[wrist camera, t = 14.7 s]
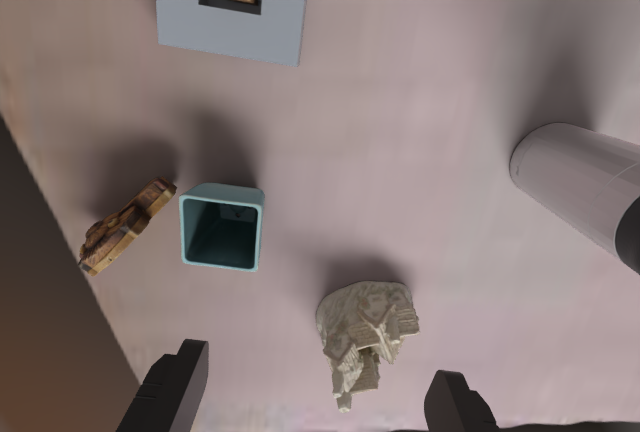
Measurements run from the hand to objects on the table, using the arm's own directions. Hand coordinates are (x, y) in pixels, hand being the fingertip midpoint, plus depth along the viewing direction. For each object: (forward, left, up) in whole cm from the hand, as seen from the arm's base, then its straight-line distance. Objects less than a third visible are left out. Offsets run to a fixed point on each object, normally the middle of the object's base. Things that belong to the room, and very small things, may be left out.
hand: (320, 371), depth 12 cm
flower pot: (+10, +10, -33) cm, 36 cm away
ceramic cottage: (-11, +28, -34) cm, 45 cm away
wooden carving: (+23, +13, -33) cm, 43 cm away
